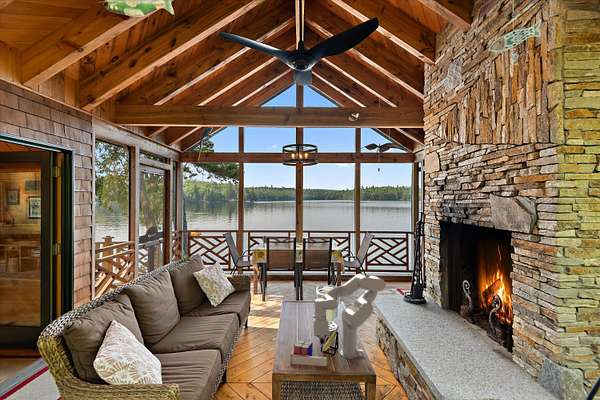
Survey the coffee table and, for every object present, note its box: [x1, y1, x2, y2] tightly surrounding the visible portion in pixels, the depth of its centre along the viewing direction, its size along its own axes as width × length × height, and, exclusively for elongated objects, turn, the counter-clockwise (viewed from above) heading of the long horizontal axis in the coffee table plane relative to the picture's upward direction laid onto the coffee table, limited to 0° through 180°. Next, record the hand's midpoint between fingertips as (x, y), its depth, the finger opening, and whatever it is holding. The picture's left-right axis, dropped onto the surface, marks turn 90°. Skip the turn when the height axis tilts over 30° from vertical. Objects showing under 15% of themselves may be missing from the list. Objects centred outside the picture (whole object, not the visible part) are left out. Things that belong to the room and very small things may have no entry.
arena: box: [289, 346, 328, 367], centre depth 229 cm, size 24×15×6 cm, turn 82°
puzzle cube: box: [293, 339, 314, 357], centre depth 230 cm, size 10×10×10 cm
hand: (322, 344), depth 229 cm, fingers closed
